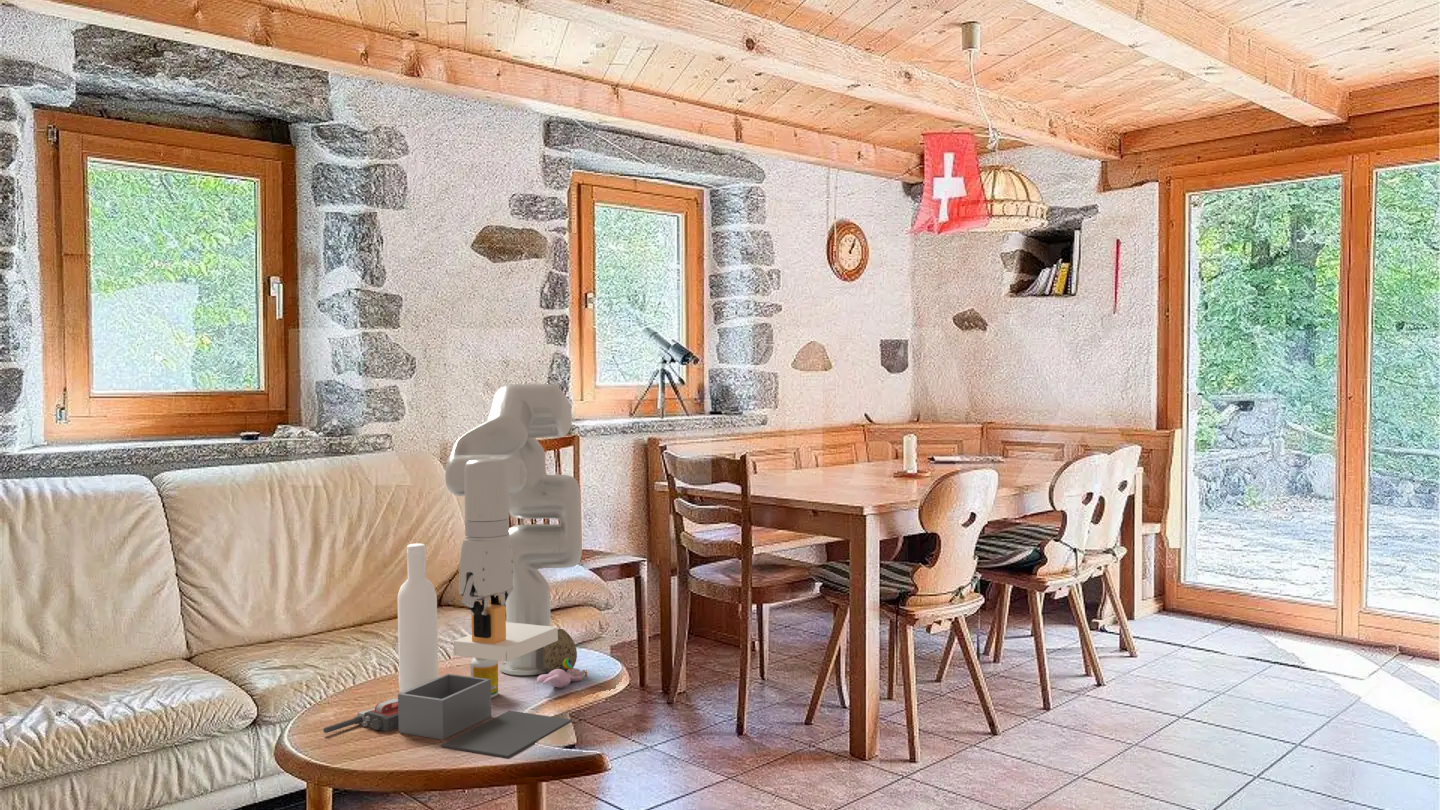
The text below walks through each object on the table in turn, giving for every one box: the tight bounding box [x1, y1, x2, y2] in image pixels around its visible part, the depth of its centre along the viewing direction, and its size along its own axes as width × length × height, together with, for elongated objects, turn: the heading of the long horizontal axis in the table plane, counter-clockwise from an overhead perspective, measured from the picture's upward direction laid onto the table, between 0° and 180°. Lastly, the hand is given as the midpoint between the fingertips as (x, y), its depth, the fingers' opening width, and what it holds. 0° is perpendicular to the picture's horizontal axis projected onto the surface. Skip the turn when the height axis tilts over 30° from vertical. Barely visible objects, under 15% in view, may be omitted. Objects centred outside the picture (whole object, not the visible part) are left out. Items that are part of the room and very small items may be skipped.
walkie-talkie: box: [322, 698, 399, 734], centre depth 194 cm, size 9×4×20 cm
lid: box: [453, 603, 559, 662], centre depth 187 cm, size 15×11×8 cm
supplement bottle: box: [470, 658, 499, 699], centre depth 211 cm, size 5×5×10 cm
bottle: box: [397, 543, 440, 694], centre depth 215 cm, size 8×8×30 cm
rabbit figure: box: [536, 658, 589, 689], centre depth 217 cm, size 6×6×15 cm
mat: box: [440, 710, 573, 759], centre depth 188 cm, size 20×14×1 cm
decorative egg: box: [543, 628, 578, 673], centre depth 224 cm, size 7×7×10 cm
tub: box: [397, 673, 492, 741], centre depth 194 cm, size 14×10×7 cm
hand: (489, 633), depth 183 cm, fingers closed on lid, 3 cm apart
